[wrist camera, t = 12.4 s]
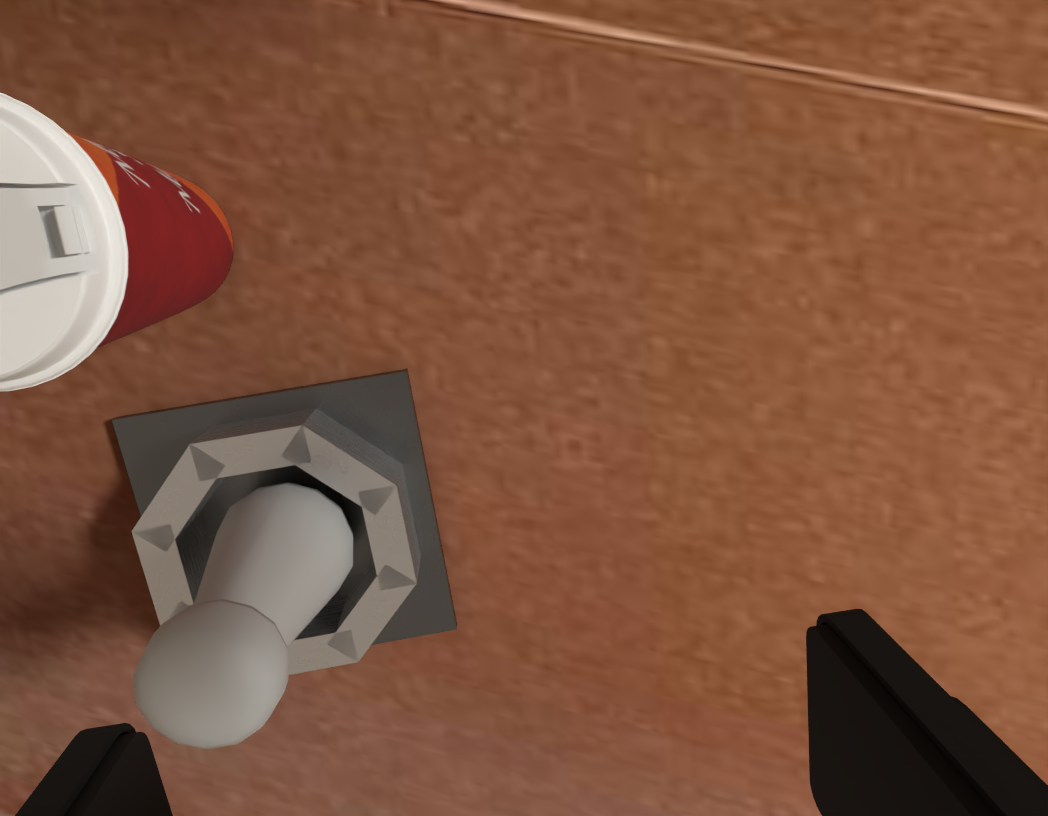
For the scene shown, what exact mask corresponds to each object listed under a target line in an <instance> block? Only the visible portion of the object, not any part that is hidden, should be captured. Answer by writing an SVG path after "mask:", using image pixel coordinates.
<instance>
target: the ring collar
mask: <svg viewBox="0 0 1048 816" xmlns="http://www.w3.org/2000/svg"><path fill="white" fill-rule="evenodd" d="M112 423H113V426H114V429H115V433H116V436H117V439H118V443H119V446H120V449H121V453H122V456H123V459H124V462H125V466H126V469H127V472H128V476H129V479H130V482H131V486H132V489H133V492H134V496H135V499H136V502H137V506H138V509H139V512H140V516H141V518H140V520H139V521H138V523H137V524H136V526H135V527H134V529H133V530H132V531H131V532H132V535H133V538H134V541H135V545H136V548H137V551H138V555H139V558H140V561H141V564H142V568H143V571H144V574H145V577H146V581H147V584H148V587H149V591H150V594H151V597H152V600H153V604H154V607H155V610H156V613H157V617H158V620H159V623H160V626H161V625H162V624H163V623H164V622H166V621H167V620H169V619H170V618H172V617H173V616H175V615H176V614H178V613H179V612H181V611H182V610H184V609H185V608H187V607H188V606H191V605H193V604H194V602H195V599H196V597H197V593H198V590H199V587H200V584H201V581H202V578H203V574H204V571H205V568H206V565H207V562H208V559H209V555H210V552H211V549H212V546H213V543H214V540H215V536H216V533H217V531H218V529H219V527H220V525H221V523H222V521H223V519H224V517H225V515H226V513H227V512H228V510H229V508H230V507H231V506H232V505H234V504H235V503H237V502H238V501H240V500H241V499H243V498H244V497H246V496H247V495H248V494H250V493H251V492H253V491H254V490H256V489H257V488H259V487H264V486H270V485H276V484H281V483H287V482H290V483H296V484H299V485H301V486H305V487H309V488H313V489H317V490H319V491H320V492H321V493H323V494H324V495H325V496H326V497H328V498H329V499H330V500H332V501H334V502H335V503H336V504H338V505H339V506H340V507H341V509H342V511H343V513H344V515H345V517H346V519H347V521H348V523H349V525H350V527H351V529H352V531H353V566H352V568H351V570H350V572H349V573H348V575H347V577H346V578H345V580H344V582H343V584H342V585H341V587H340V589H339V590H338V591H337V592H336V593H335V595H334V596H333V597H332V598H331V599H330V600H329V601H328V602H327V604H326V605H325V606H324V607H323V608H322V609H321V610H320V611H319V613H318V614H317V615H316V616H315V617H314V618H313V619H312V620H311V622H310V623H309V624H308V625H307V626H306V627H305V628H304V629H303V631H302V632H301V633H300V634H299V635H298V636H297V637H296V638H295V640H294V641H293V642H292V643H291V644H290V645H289V646H288V647H287V648H288V675H291V674H296V673H302V672H307V671H312V670H318V669H323V668H329V667H334V666H339V665H345V664H350V663H356V662H359V660H360V659H361V658H362V656H363V655H364V654H365V652H366V651H367V650H368V648H369V647H370V645H374V644H379V643H384V642H390V641H395V640H401V639H406V638H412V637H417V636H422V635H428V634H433V633H439V632H444V631H450V630H455V629H457V622H456V616H455V611H454V606H453V601H452V596H451V591H450V586H449V581H448V575H447V570H446V565H445V560H444V555H443V550H442V545H441V540H440V534H439V529H438V524H437V519H436V514H435V509H434V504H433V499H432V493H431V488H430V483H429V478H428V473H427V468H426V463H425V458H424V452H423V447H422V442H421V437H420V432H419V427H418V422H417V417H416V411H415V406H414V401H413V396H412V391H411V386H410V381H409V375H408V370H407V369H404V370H398V371H392V372H386V373H380V374H374V375H368V376H362V377H355V378H349V379H343V380H337V381H331V382H325V383H319V384H313V385H307V386H301V387H295V388H289V389H283V390H277V391H271V392H265V393H259V394H253V395H247V396H241V397H235V398H229V399H223V400H217V401H211V402H205V403H198V404H192V405H186V406H180V407H174V408H168V409H162V410H156V411H150V412H144V413H138V414H132V415H126V416H120V417H117V418H115V419H113V420H112Z"/></svg>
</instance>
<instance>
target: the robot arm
mask: <svg viewBox="0 0 1048 816" xmlns="http://www.w3.org/2000/svg"><path fill="white" fill-rule="evenodd" d="M806 647H807V686H808V726H809V766H810V785H811V790H812V794H813V797H814V800H815V802H816V805H817V807H818V809H819V811H820V813H821V815H822V816H1048V785H1047V784H1046V783H1045V782H1043V781H1042V780H1041V779H1040V778H1039V777H1038V776H1037V775H1036V774H1035V773H1034V772H1033V771H1032V770H1031V769H1030V768H1029V767H1028V766H1027V765H1026V764H1025V763H1024V762H1023V761H1022V760H1021V759H1020V758H1019V757H1018V756H1017V755H1016V754H1015V753H1014V752H1013V751H1012V750H1011V749H1010V748H1009V747H1008V746H1007V745H1006V744H1005V743H1004V742H1003V741H1002V740H1001V739H1000V738H999V737H998V736H997V735H996V734H995V733H994V732H993V731H992V730H991V729H990V728H988V727H987V726H986V725H985V724H984V723H983V722H982V721H981V720H980V719H979V718H978V717H977V716H976V715H975V714H974V713H973V712H972V711H971V710H970V709H969V708H968V707H967V706H966V705H965V704H963V703H962V702H961V701H960V700H958V699H957V698H955V697H951V696H950V695H949V694H948V693H947V692H946V691H945V690H944V689H943V688H942V687H941V686H940V685H939V684H938V683H937V682H936V681H935V680H934V679H933V678H932V677H931V676H930V675H929V674H928V673H927V672H926V671H925V670H924V669H923V668H922V667H921V666H920V665H919V664H918V663H917V662H915V661H914V660H913V659H912V658H911V657H910V656H909V655H908V654H907V653H906V652H905V651H904V650H903V649H902V648H901V647H900V646H899V645H898V644H897V643H896V642H895V641H894V640H893V639H892V638H891V637H890V636H889V635H888V634H887V633H886V632H885V631H884V630H883V629H882V628H881V627H880V626H879V625H878V624H877V623H876V622H875V621H874V620H873V619H872V618H871V617H870V616H869V615H868V614H867V613H866V612H865V611H863V610H862V609H853V610H846V611H840V612H834V613H827V614H821V615H820V616H819V617H818V619H817V625H816V626H813V627H809V628H808V630H807V634H806ZM15 816H173V815H172V812H171V809H170V806H169V802H168V799H167V796H166V793H165V790H164V787H163V783H162V780H161V777H160V774H159V771H158V768H157V764H156V761H155V758H154V755H153V752H152V749H151V745H150V742H149V740H148V737H147V735H146V734H145V733H143V732H136V731H135V729H134V728H133V727H132V726H131V725H130V724H127V723H122V724H116V725H109V726H103V727H96V728H90V729H85V730H83V731H80V732H79V733H78V734H77V735H76V736H75V737H74V739H73V740H72V741H71V743H70V744H69V745H68V746H67V748H66V749H65V750H64V752H63V753H62V754H61V756H60V757H59V758H58V760H57V761H56V762H55V764H54V765H53V766H52V768H51V769H50V770H49V772H48V773H47V774H46V776H45V777H44V778H43V780H42V781H41V782H40V783H39V785H38V786H37V787H36V789H35V790H34V791H33V793H32V794H31V795H30V797H29V798H28V799H27V801H26V802H25V803H24V805H23V806H22V807H21V809H20V810H19V811H18V813H17V814H16V815H15Z"/></svg>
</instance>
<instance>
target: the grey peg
mask: <svg viewBox="0 0 1048 816" xmlns="http://www.w3.org/2000/svg"><path fill="white" fill-rule="evenodd" d="M352 566H353V531H352V529H351V527H350V525H349V523H348V521H347V519H346V517H345V515H344V513H343V511H342V509H341V507H340V506H339V505H338V504H336V503H335V502H334V501H332V500H330V499H329V498H328V497H326V496H325V495H324V494H323V493H321V492H320V491H319V490H317V489H313V488H309V487H305V486H301V485H299V484H296V483H290V482H287V483H281V484H276V485H270V486H264V487H259V488H257V489H256V490H254V491H253V492H251V493H250V494H248V495H247V496H246V497H244V498H243V499H241V500H240V501H238V502H237V503H235V504H234V505H232V506H231V507H230V508H229V510H228V512H227V513H226V515H225V517H224V519H223V521H222V523H221V525H220V527H219V529H218V531H217V533H216V536H215V540H214V543H213V546H212V549H211V552H210V555H209V559H208V562H207V565H206V568H205V571H204V574H203V578H202V581H201V584H200V587H199V590H198V593H197V597H196V599H195V602H194V604H193V605H191V606H188V607H187V608H185V609H184V610H182V611H181V612H179V613H178V614H176V615H175V616H173V617H172V618H170V619H169V620H167V621H166V622H164V623H163V624H162V625H161V626H160V627H159V628H158V629H157V630H156V631H155V633H154V634H153V635H152V637H151V639H150V641H149V643H148V645H147V647H146V649H145V651H144V653H143V655H142V657H141V659H140V661H139V663H138V666H137V668H136V670H135V673H134V688H135V703H136V704H137V706H138V707H139V709H140V710H141V712H142V714H143V715H144V717H145V718H146V720H147V721H148V723H149V725H150V726H151V727H152V728H154V729H155V730H157V731H158V732H160V733H161V734H163V735H164V736H166V737H167V738H169V739H170V740H172V741H173V742H175V743H176V744H181V745H187V746H192V747H198V748H203V749H212V748H217V747H223V746H229V745H234V744H239V743H240V742H241V741H243V740H244V739H246V738H247V737H249V736H250V735H252V734H253V733H254V732H256V731H257V730H259V729H260V728H262V727H263V725H264V724H265V723H266V721H267V720H268V718H269V717H270V716H271V714H272V712H273V711H274V709H275V707H276V705H277V704H278V702H279V700H280V698H281V697H282V695H283V693H284V691H285V689H286V685H287V682H288V648H287V647H288V646H289V645H290V644H291V643H292V642H293V641H294V640H295V638H296V637H297V636H298V635H299V634H300V633H301V632H302V631H303V629H304V628H305V627H306V626H307V625H308V624H309V623H310V622H311V620H312V619H313V618H314V617H315V616H316V615H317V614H318V613H319V611H320V610H321V609H322V608H323V607H324V606H325V605H326V604H327V602H328V601H329V600H330V599H331V598H332V597H333V596H334V595H335V593H336V592H337V591H338V590H339V589H340V587H341V585H342V584H343V582H344V580H345V578H346V577H347V575H348V573H349V572H350V570H351V568H352Z"/></svg>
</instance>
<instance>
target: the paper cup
mask: <svg viewBox="0 0 1048 816" xmlns="http://www.w3.org/2000/svg"><path fill="white" fill-rule="evenodd" d="M232 258H233V238H232V233H231V229H230V226H229V224H228V221H227V219H226V217H225V215H224V213H223V212H222V210H221V209H220V207H219V206H218V204H217V203H216V202H215V201H214V200H213V199H212V198H211V197H210V196H209V195H208V194H207V193H206V192H205V191H203V190H202V189H201V188H199V187H198V186H196V185H195V184H193V183H191V182H189V181H187V180H185V179H183V178H181V177H179V176H177V175H175V174H172V173H170V172H168V171H165V170H163V169H160V168H158V167H155V166H153V165H150V164H148V163H145V162H143V161H140V160H138V159H135V158H133V157H130V156H128V155H125V154H123V153H120V152H118V151H115V150H112V149H110V148H107V147H105V146H102V145H99V144H97V143H94V142H92V141H89V140H87V139H84V138H81V137H79V136H76V135H74V134H71V133H68V132H66V131H64V130H63V129H62V128H61V127H59V126H58V125H57V124H56V123H55V122H54V121H52V120H51V119H49V118H48V117H46V116H45V115H43V114H41V113H40V112H38V111H37V110H35V109H34V108H32V107H31V106H29V105H27V104H25V103H22V102H20V101H18V100H16V99H14V98H12V97H9V96H7V95H5V94H2V93H0V391H12V390H17V389H23V388H28V387H33V386H36V385H38V384H41V383H44V382H47V381H49V380H52V379H55V378H57V377H59V376H60V375H62V374H64V373H66V372H67V371H69V370H71V369H73V368H74V367H76V366H77V365H78V364H79V363H81V362H82V361H83V360H84V359H85V358H87V357H88V356H89V355H90V354H91V353H92V352H93V351H94V350H95V349H96V348H97V347H100V346H102V345H105V344H107V343H109V342H112V341H114V340H116V339H119V338H121V337H124V336H126V335H128V334H131V333H133V332H135V331H138V330H140V329H143V328H145V327H147V326H150V325H152V324H154V323H157V322H159V321H161V320H163V319H166V318H168V317H170V316H173V315H175V314H177V313H179V312H182V311H184V310H186V309H188V308H190V307H192V306H194V305H196V304H198V303H200V302H202V301H203V300H205V299H206V298H208V297H209V296H211V295H212V294H213V293H214V292H215V291H216V290H217V289H218V288H219V287H220V285H221V284H222V283H223V281H224V280H225V278H226V276H227V274H228V272H229V270H230V267H231V263H232Z"/></svg>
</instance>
